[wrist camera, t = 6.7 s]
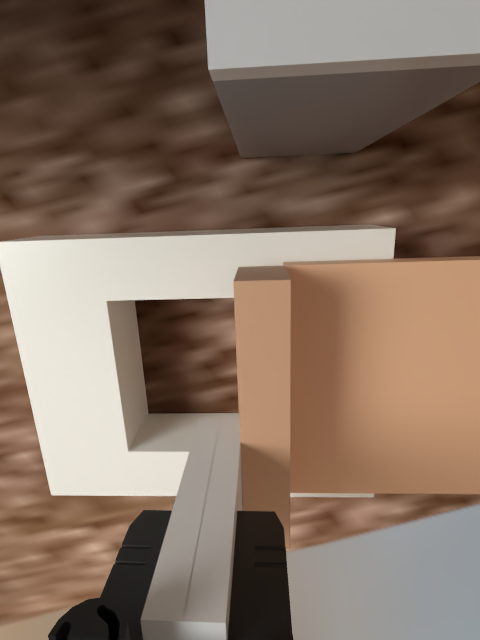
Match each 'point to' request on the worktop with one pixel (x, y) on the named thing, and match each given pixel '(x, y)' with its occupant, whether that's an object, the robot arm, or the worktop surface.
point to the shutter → (358, 378)
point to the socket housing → (132, 339)
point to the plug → (336, 68)
